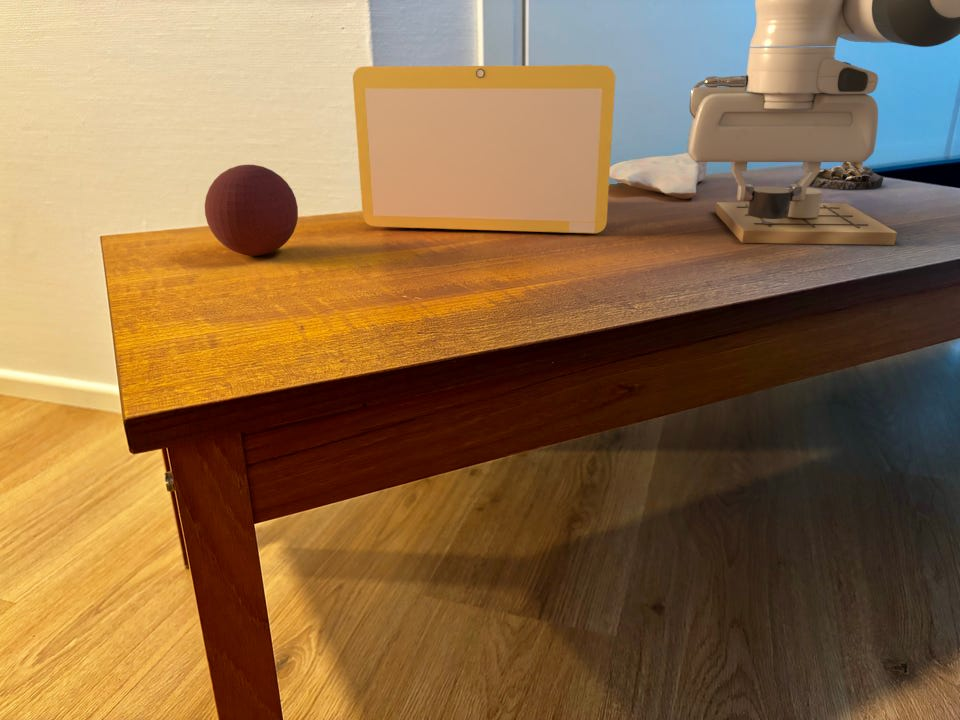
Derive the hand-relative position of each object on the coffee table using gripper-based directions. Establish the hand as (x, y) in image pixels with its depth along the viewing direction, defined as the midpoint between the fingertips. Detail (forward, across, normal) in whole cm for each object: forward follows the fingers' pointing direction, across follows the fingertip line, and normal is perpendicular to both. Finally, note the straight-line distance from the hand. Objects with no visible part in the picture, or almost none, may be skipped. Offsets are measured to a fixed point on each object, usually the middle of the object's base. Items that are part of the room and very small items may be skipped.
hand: (770, 200), depth 87 cm
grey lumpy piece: (+4, +21, +38) cm, 44 cm away
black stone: (+2, 0, 0) cm, 2 cm away
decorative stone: (+4, -10, +33) cm, 35 cm away
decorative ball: (+4, -59, -12) cm, 60 cm away
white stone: (+3, +5, +5) cm, 8 cm away
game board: (+4, +5, +5) cm, 8 cm away
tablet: (+4, -31, +4) cm, 32 cm away
